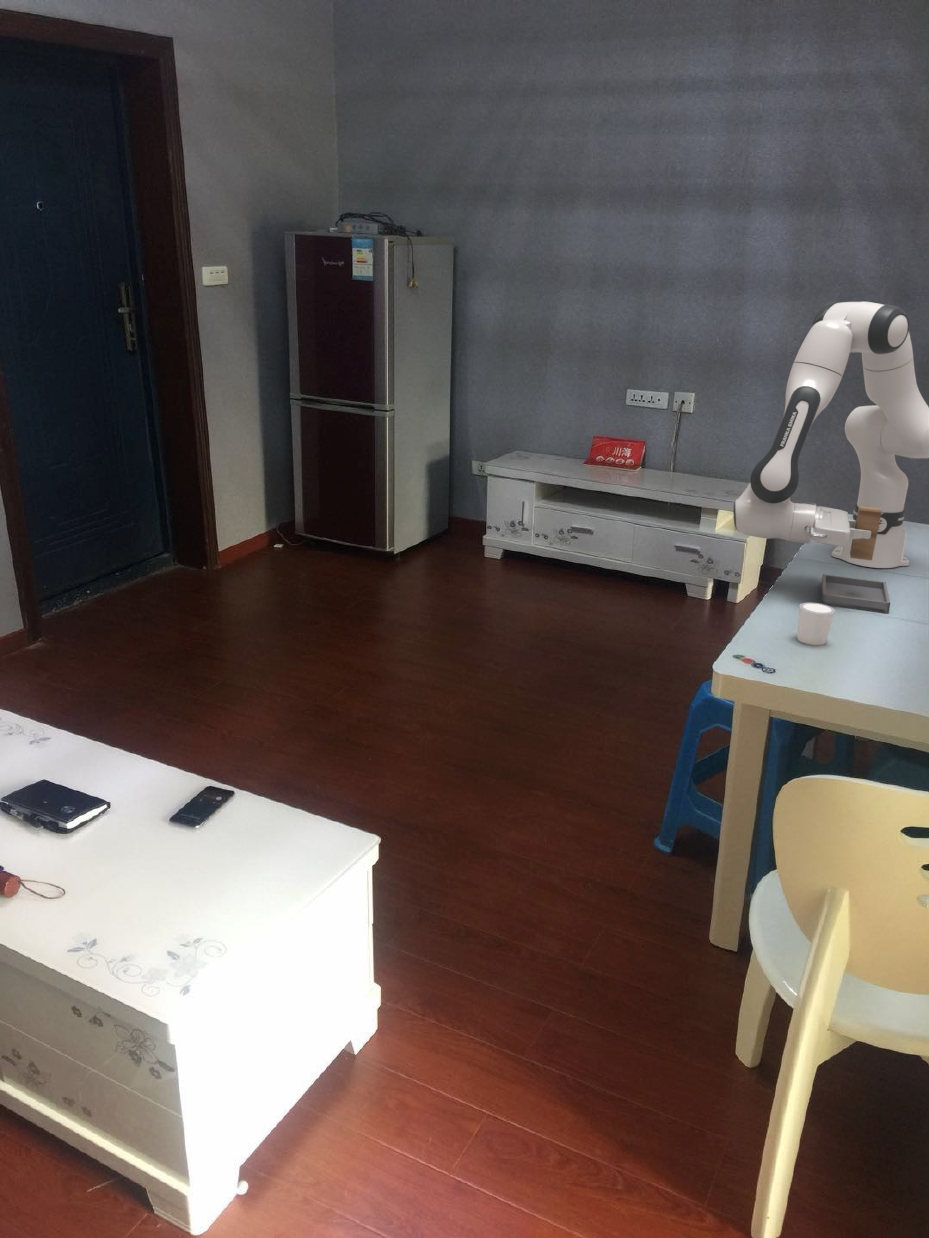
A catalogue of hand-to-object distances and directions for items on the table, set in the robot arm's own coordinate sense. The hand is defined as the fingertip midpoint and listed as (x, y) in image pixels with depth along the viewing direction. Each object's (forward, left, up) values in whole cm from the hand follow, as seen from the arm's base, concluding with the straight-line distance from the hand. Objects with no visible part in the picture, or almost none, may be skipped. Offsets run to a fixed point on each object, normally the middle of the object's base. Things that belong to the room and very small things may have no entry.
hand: (870, 531), depth 216 cm
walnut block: (0, -1, -6) cm, 6 cm away
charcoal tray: (0, -1, -16) cm, 16 cm away
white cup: (+32, -10, -16) cm, 37 cm away
